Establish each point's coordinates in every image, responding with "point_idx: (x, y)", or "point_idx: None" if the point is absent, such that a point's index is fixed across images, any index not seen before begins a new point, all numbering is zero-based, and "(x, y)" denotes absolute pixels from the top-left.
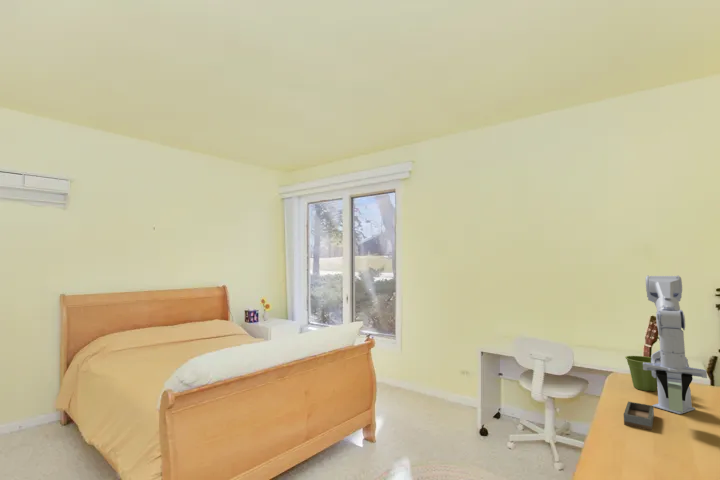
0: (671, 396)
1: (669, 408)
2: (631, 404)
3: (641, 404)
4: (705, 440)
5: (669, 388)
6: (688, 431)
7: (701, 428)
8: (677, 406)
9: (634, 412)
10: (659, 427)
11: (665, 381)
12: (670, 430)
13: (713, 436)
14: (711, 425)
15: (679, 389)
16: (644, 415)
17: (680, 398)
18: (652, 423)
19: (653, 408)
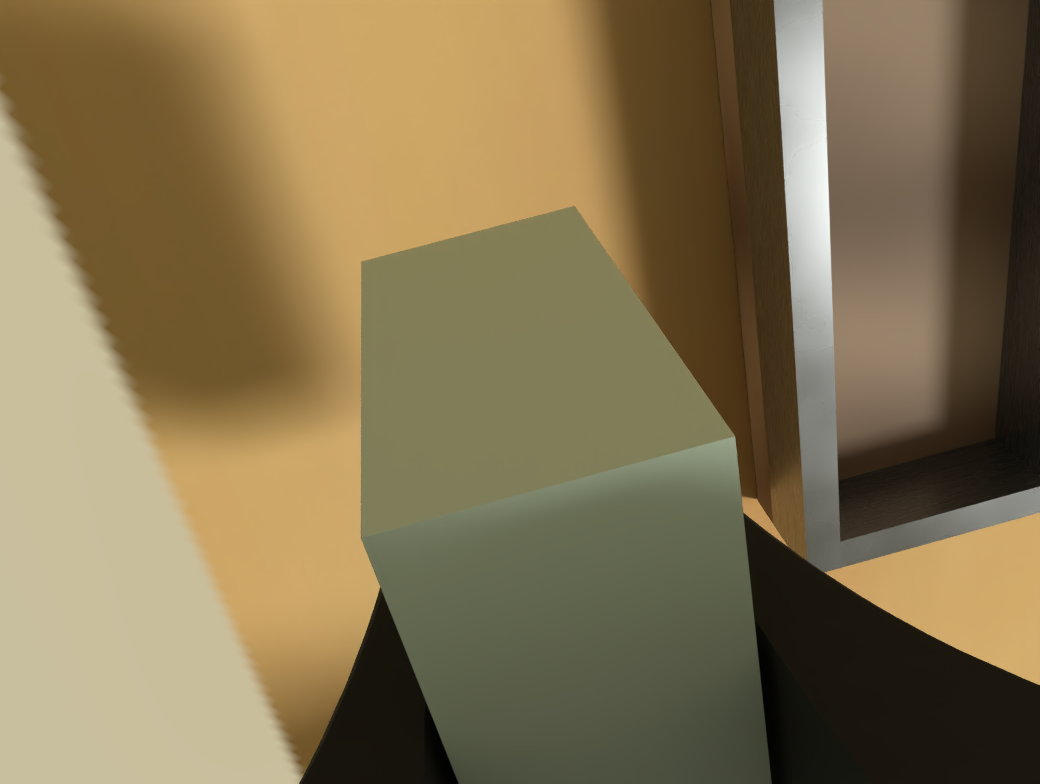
0: (587, 338)
1: (574, 210)
2: (1026, 471)
3: (932, 516)
4: (97, 106)
5: (688, 439)
6: (356, 286)
7: (297, 504)
8: (447, 269)
9: (958, 344)
10: (644, 136)
11: (881, 723)
12: (517, 133)
13: (109, 349)
14: (267, 662)
15: (426, 554)
16: (850, 331)
17: (393, 378)
18: (733, 144)
19: (794, 546)
